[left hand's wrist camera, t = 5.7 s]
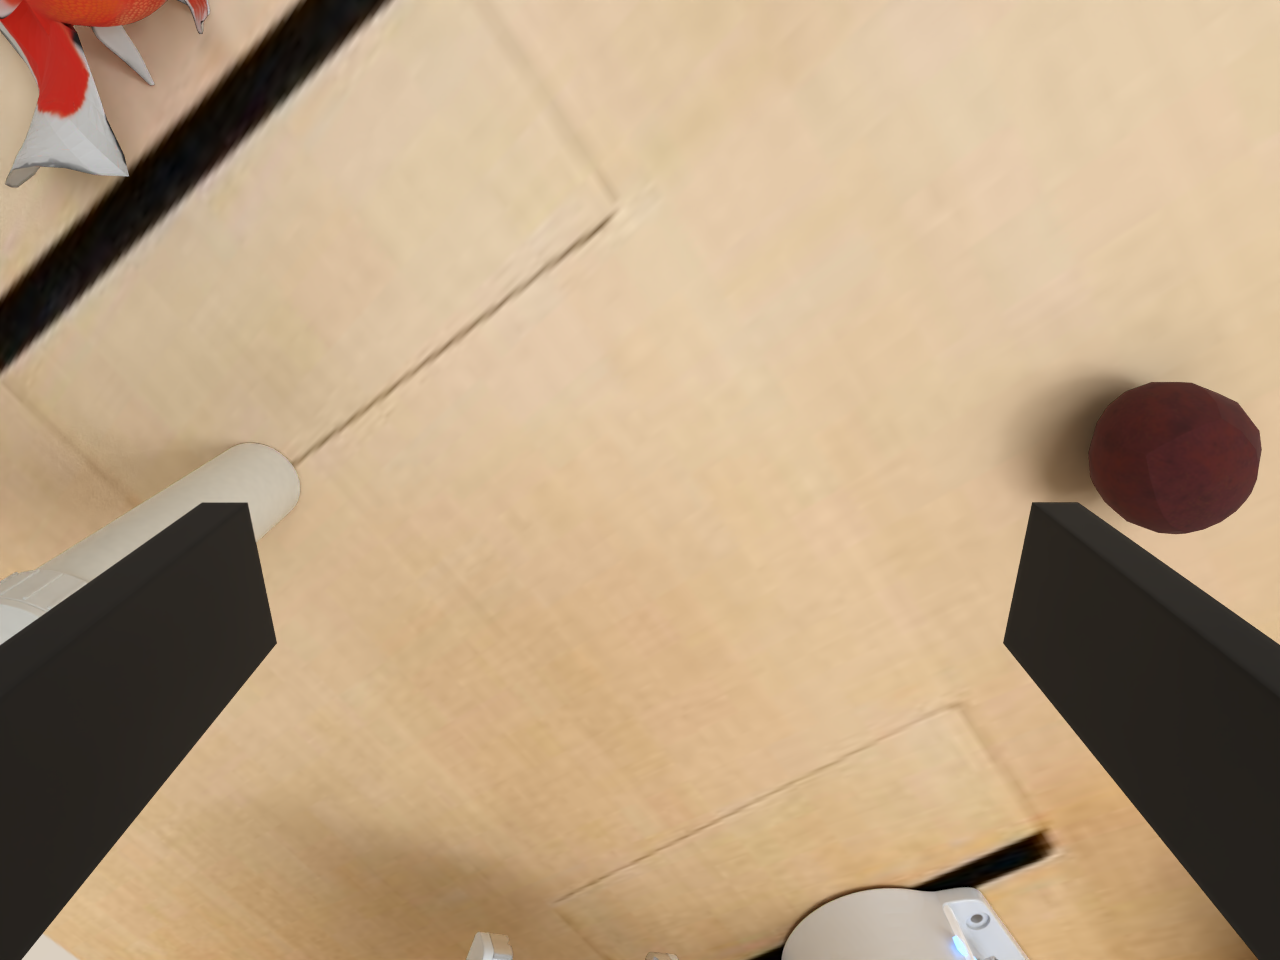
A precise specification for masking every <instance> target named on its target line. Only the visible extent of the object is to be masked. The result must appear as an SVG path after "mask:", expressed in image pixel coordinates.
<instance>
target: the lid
mask: <svg viewBox="0 0 1280 960" xmlns="http://www.w3.org/2000/svg"><path fill="white" fill-rule="evenodd" d="M87 583H88V582H86V581H84V580H82V579H80V578H77V577H75V576H72V575H69V574H66V573H62V572H57V571H51V570H39V569H36V570H31V571H25V572H21V573H17V572H15V573H13V574H11V575H10V576H8V577H6V578H5V579H3V580H1V581H0V645H1V644H2V643H4V642H5V641H7V640H8V639H9V638H11V637H12V636H14V635H15V634H17V633H18V632H19V631H21V630H22V629H24V628H25V627H26V626H28V625H29V624H31V623H32V622H34V621H35V620H36V619H38V618H39V617H41V616H42V615H43V614H45V613H46V612H48V611H49V610H50V609H52V608H53V607H55V606H56V605H58V604H59V603H60V602H62V601H63V600H65V599H66V598H67V597H69V596H70V595H72V594H73V593H75V592H76V591H77V590H79V589H80V588H82V587H83V586H84V585H86V584H87Z"/></svg>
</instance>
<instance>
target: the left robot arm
mask: <svg viewBox="0 0 1280 960" xmlns="http://www.w3.org/2000/svg"><path fill="white" fill-rule="evenodd" d="M276 644H277V642H276V637H275V632H274V627H273V622H272V617H271V613H270V608H269V603H268V598H267V593H266V588H265V584H264V579H263V574H262V569H261V564H260V559H259V555H258V550H257V545H256V540H255V535H254V530H253V525H252V521H251V516H250V511H249V506H248V502H202V503H201V504H199V505H198V506H196V507H195V508H193V509H192V510H191V511H189V512H188V513H186V514H185V515H184V516H182V517H181V518H179V519H178V520H176V521H175V522H174V523H172V524H171V525H169V526H168V527H167V528H165V529H164V530H162V531H161V532H159V533H158V534H157V535H155V536H154V537H152V538H151V539H150V540H148V541H147V542H145V543H144V544H142V545H141V546H140V547H138V548H137V549H135V550H134V551H133V552H131V553H130V554H128V555H127V556H126V557H124V558H123V559H121V560H120V561H118V562H117V563H116V564H114V565H113V566H111V567H110V568H109V569H107V570H106V571H104V572H103V573H101V574H100V575H99V576H97V577H96V578H94V579H93V580H92V581H90V582H89V583H87V584H86V585H84V586H83V587H82V588H80V589H79V590H77V591H76V592H75V593H73V594H72V595H70V596H69V597H67V598H66V599H65V600H63V601H62V602H60V603H59V604H58V605H56V606H55V607H53V608H52V609H50V610H49V611H48V612H46V613H45V614H43V615H42V616H41V617H39V618H38V619H36V620H35V621H34V622H32V623H31V624H29V625H28V626H26V627H25V628H24V629H22V630H21V631H19V632H18V633H17V634H15V635H14V636H12V637H11V638H9V639H8V640H7V641H5V642H4V643H2V644H1V645H0V960H22V958H23V957H24V956H25V955H26V953H27V952H28V951H29V950H30V948H31V947H32V946H33V945H34V943H35V942H36V941H37V940H38V938H39V937H40V936H41V935H42V934H43V932H44V931H45V930H46V929H47V927H48V926H49V925H50V924H51V922H52V921H53V920H54V919H55V917H56V916H57V915H58V914H59V912H60V911H61V910H62V909H63V908H64V906H65V905H66V904H67V903H68V901H69V900H70V899H71V898H72V896H73V895H74V894H75V893H76V891H77V890H78V889H79V888H80V886H81V885H82V884H83V883H84V881H85V880H86V879H87V878H88V877H89V875H90V874H91V873H92V872H93V870H94V869H95V868H96V867H97V865H98V864H99V863H100V862H101V860H102V859H103V858H104V857H105V855H106V854H107V853H108V852H109V850H110V849H111V848H112V847H113V846H114V844H115V843H116V842H117V841H118V839H119V838H120V837H121V836H122V834H123V833H124V832H125V831H126V829H127V828H128V827H129V826H130V824H131V823H132V822H133V821H134V820H135V818H136V817H137V816H138V815H139V813H140V812H141V811H142V810H143V808H144V807H145V806H146V805H147V803H148V802H149V801H150V800H151V798H152V797H153V796H154V795H155V793H156V792H157V791H158V790H159V789H160V787H161V786H162V785H163V784H164V782H165V781H166V780H167V779H168V777H169V776H170V775H171V774H172V772H173V771H174V770H175V769H176V767H177V766H178V765H179V764H180V762H181V761H182V760H183V759H184V758H185V756H186V755H187V754H188V753H189V751H190V750H191V749H192V748H193V746H194V745H195V744H196V743H197V741H198V740H199V739H200V738H201V736H202V735H203V734H204V733H205V732H206V730H207V729H208V728H209V727H210V725H211V724H212V723H213V722H214V720H215V719H216V718H217V717H218V715H219V714H220V713H221V712H222V710H223V709H224V708H225V707H226V705H227V704H228V703H229V702H230V701H231V699H232V698H233V697H234V696H235V694H236V693H237V692H238V691H239V689H240V688H241V687H242V686H243V684H244V683H245V682H246V681H247V679H248V678H249V677H250V676H251V674H252V673H253V672H254V671H255V670H256V668H257V667H258V666H259V665H260V663H261V662H262V661H263V660H264V658H265V657H266V656H267V655H268V653H269V652H270V651H271V650H272V648H273V647H274V646H275V645H276ZM1003 644H1004V645H1005V646H1006V647H1007V648H1008V650H1009V651H1010V652H1011V653H1012V655H1013V656H1014V657H1015V658H1016V660H1017V661H1018V662H1019V663H1020V665H1021V666H1022V667H1023V668H1024V670H1025V671H1026V672H1027V673H1028V674H1029V676H1030V677H1031V678H1032V679H1033V681H1034V682H1035V683H1036V684H1037V686H1038V687H1039V688H1040V689H1041V691H1042V692H1043V693H1044V694H1045V696H1046V697H1047V698H1048V699H1049V701H1050V702H1051V703H1052V704H1053V705H1054V707H1055V708H1056V709H1057V710H1058V712H1059V713H1060V714H1061V715H1062V717H1063V718H1064V719H1065V720H1066V722H1067V723H1068V724H1069V725H1070V727H1071V728H1072V729H1073V730H1074V732H1075V733H1076V734H1077V735H1078V736H1079V738H1080V739H1081V740H1082V741H1083V743H1084V744H1085V745H1086V746H1087V748H1088V749H1089V750H1090V751H1091V753H1092V754H1093V755H1094V756H1095V758H1096V759H1097V760H1098V761H1099V762H1100V764H1101V765H1102V766H1103V767H1104V769H1105V770H1106V771H1107V772H1108V774H1109V775H1110V776H1111V777H1112V779H1113V780H1114V781H1115V782H1116V784H1117V785H1118V786H1119V787H1120V789H1121V790H1122V791H1123V792H1124V793H1125V795H1126V796H1127V797H1128V798H1129V800H1130V801H1131V802H1132V803H1133V805H1134V806H1135V807H1136V808H1137V810H1138V811H1139V812H1140V813H1141V815H1142V816H1143V817H1144V818H1145V820H1146V821H1147V822H1148V823H1149V824H1150V826H1151V827H1152V828H1153V829H1154V831H1155V832H1156V833H1157V834H1158V836H1159V837H1160V838H1161V839H1162V841H1163V842H1164V843H1165V844H1166V846H1167V847H1168V848H1169V849H1170V850H1171V852H1172V853H1173V854H1174V855H1175V857H1176V858H1177V859H1178V860H1179V862H1180V863H1181V864H1182V865H1183V867H1184V868H1185V869H1186V870H1187V872H1188V873H1189V874H1190V875H1191V877H1192V878H1193V879H1194V880H1195V881H1196V883H1197V884H1198V885H1199V886H1200V888H1201V889H1202V890H1203V891H1204V893H1205V894H1206V895H1207V896H1208V898H1209V899H1210V900H1211V901H1212V903H1213V904H1214V905H1215V906H1216V908H1217V909H1218V910H1219V911H1220V912H1221V914H1222V915H1223V916H1224V917H1225V919H1226V920H1227V921H1228V922H1229V924H1230V925H1231V926H1232V927H1233V929H1234V930H1235V931H1236V932H1237V934H1238V935H1239V936H1240V937H1241V938H1242V940H1243V941H1244V942H1245V943H1246V945H1247V946H1248V947H1249V948H1250V950H1251V951H1252V952H1253V953H1254V955H1255V956H1256V957H1257V958H1258V960H1280V645H1279V644H1278V643H1276V642H1275V641H1273V640H1272V639H1271V638H1269V637H1268V636H1266V635H1265V634H1263V633H1262V632H1261V631H1259V630H1258V629H1256V628H1255V627H1254V626H1252V625H1251V624H1249V623H1248V622H1246V621H1245V620H1244V619H1242V618H1241V617H1239V616H1238V615H1237V614H1235V613H1234V612H1232V611H1231V610H1230V609H1228V608H1227V607H1225V606H1224V605H1222V604H1221V603H1220V602H1218V601H1217V600H1215V599H1214V598H1213V597H1211V596H1210V595H1208V594H1207V593H1205V592H1204V591H1203V590H1201V589H1200V588H1198V587H1197V586H1196V585H1194V584H1193V583H1191V582H1190V581H1188V580H1187V579H1186V578H1184V577H1183V576H1181V575H1180V574H1179V573H1177V572H1176V571H1174V570H1173V569H1171V568H1170V567H1169V566H1167V565H1166V564H1164V563H1163V562H1162V561H1160V560H1159V559H1157V558H1156V557H1154V556H1153V555H1152V554H1150V553H1149V552H1147V551H1146V550H1145V549H1143V548H1142V547H1140V546H1139V545H1138V544H1136V543H1135V542H1133V541H1132V540H1130V539H1129V538H1128V537H1126V536H1125V535H1123V534H1122V533H1121V532H1119V531H1118V530H1116V529H1115V528H1113V527H1112V526H1111V525H1109V524H1108V523H1106V522H1105V521H1104V520H1102V519H1101V518H1099V517H1098V516H1096V515H1095V514H1094V513H1092V512H1091V511H1089V510H1088V509H1087V508H1085V507H1084V506H1082V505H1081V504H1079V503H1078V502H1032V506H1031V511H1030V516H1029V521H1028V525H1027V530H1026V535H1025V540H1024V545H1023V550H1022V555H1021V559H1020V564H1019V569H1018V574H1017V579H1016V584H1015V588H1014V593H1013V598H1012V603H1011V608H1010V613H1009V617H1008V622H1007V627H1006V632H1005V637H1004V642H1003Z"/></svg>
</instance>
